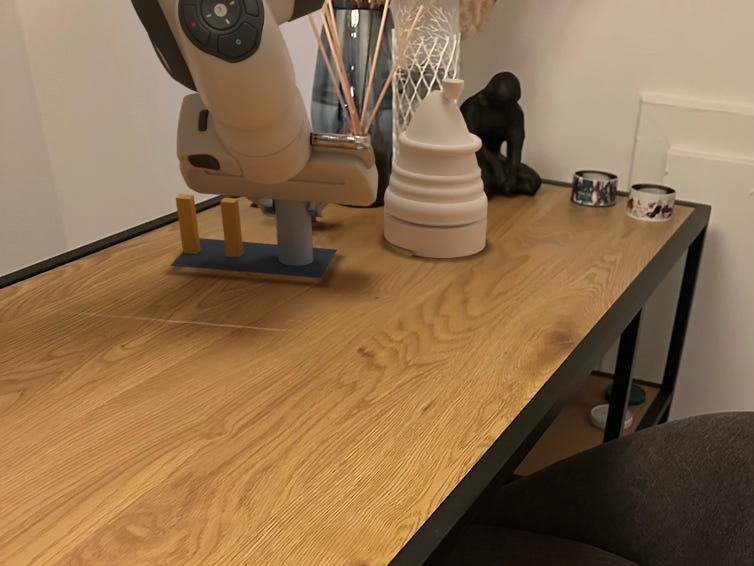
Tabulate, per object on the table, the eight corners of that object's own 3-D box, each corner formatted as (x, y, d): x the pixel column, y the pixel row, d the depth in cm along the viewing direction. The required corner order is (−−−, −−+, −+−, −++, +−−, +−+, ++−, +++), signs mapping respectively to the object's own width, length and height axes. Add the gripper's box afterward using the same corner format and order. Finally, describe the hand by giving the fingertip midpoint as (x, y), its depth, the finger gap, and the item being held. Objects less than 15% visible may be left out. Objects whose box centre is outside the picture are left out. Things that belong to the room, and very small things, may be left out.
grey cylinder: (274, 264, 107) (267, 169, 100) (282, 253, 110) (276, 160, 103) (309, 267, 107) (304, 172, 100) (316, 256, 110) (312, 163, 103)
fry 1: (183, 253, 108) (175, 197, 104) (187, 249, 109) (179, 193, 105) (196, 254, 108) (189, 198, 104) (200, 250, 109) (193, 195, 105)
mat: (170, 270, 105) (169, 265, 105) (196, 242, 113) (196, 237, 112) (321, 283, 105) (321, 277, 104) (337, 254, 112) (337, 249, 112)
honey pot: (505, 242, 120) (517, 81, 108) (442, 265, 112) (448, 93, 100) (427, 219, 125) (431, 63, 114) (362, 239, 117) (359, 74, 106)
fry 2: (226, 256, 108) (220, 201, 104) (229, 252, 109) (223, 197, 105) (240, 258, 108) (234, 202, 104) (243, 253, 109) (238, 198, 105)
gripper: (374, 110, 92) (388, 189, 106) (167, 94, 92) (208, 176, 106) (368, 170, 91) (383, 243, 105) (160, 155, 91) (202, 229, 105)
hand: (294, 209), depth 105 cm, fingers closed on grey cylinder, 4 cm apart
